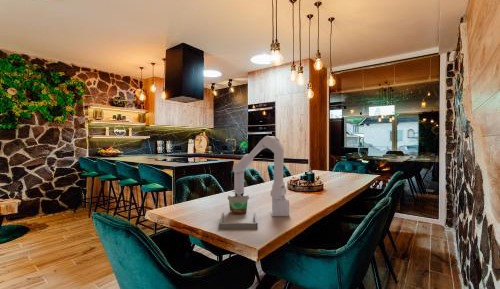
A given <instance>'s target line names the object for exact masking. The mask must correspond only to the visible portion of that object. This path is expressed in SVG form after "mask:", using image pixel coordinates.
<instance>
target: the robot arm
mask: <svg viewBox="0 0 500 289" xmlns="http://www.w3.org/2000/svg"><path fill="white" fill-rule="evenodd" d="M264 149H269V150H270V151H271V153H273V154H274V155H273V183H272V188H271V190H270V196H271V210H270V214H271V216H272V217H290V199H289V198H286V197H285V195H286V194H287V188H286V187H285V182H284V161H285V160H284V158H285V156H284V151H285V150H284V147H283V146H282V144H281V142H280V139H279V138H278V137H276V136H274V135H272V136H269V135H266V136H264V137H263V138H262V139H261V140H259V142H258V143H257V144H256V146H255V147H254V148H253V149H252V150H251V151H249V152H250V153H246V154H243V155H242V158H241V159H240V160H238V161H237V163H234V164H233V166H232V171H233V174H234V176H233V177H234V183H233V185H234V187H233V188H234V190H232V193H234V196H244V195H245V171H246V169H247V168H248V167H249V166H250V164H252V163H253V161H254V158H255V157H256V156H257V155H258V154H259V153H260V152H261V151H262V150H264Z"/></svg>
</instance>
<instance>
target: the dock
mask: <svg viewBox="0 0 500 289" xmlns="http://www.w3.org/2000/svg"><path fill="white" fill-rule="evenodd" d="M224 220H225V213H224V212H222V213H221V215H220V218H219V224H218V227H219V230H253V229H254V230H255V229H256V230H257V229H259V228H258V227H259V225H258V224H259V223H258V218H257V213H256V212H253V221H254V222H224Z"/></svg>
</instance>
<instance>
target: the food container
mask: <svg viewBox="0 0 500 289" xmlns="http://www.w3.org/2000/svg"><path fill="white" fill-rule="evenodd" d="M249 199H250V196H249V194H247V195H243V196H236V195H234V196H230V195H227V200H228V205H229V213H230V214H232V215H238V216H240V215H241V214H242V215H245V214H246V213H247V211H248V210H247V208H248V201H249Z"/></svg>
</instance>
